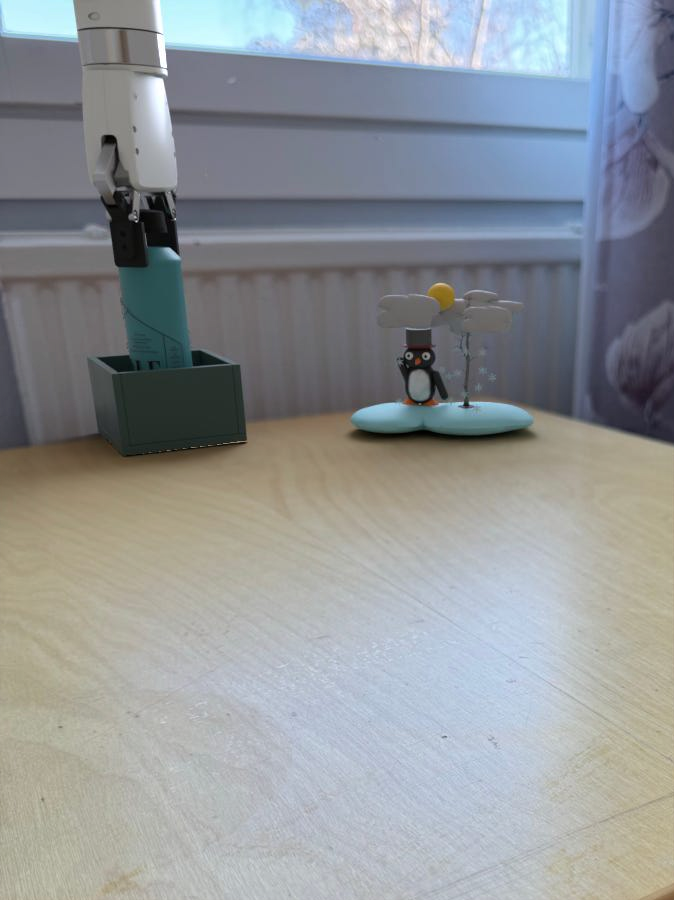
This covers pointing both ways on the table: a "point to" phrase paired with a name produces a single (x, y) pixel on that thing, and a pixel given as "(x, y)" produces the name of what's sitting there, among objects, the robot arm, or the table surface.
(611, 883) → the table surface
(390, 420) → the penguin figurine
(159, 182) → the robot arm
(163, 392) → the holder bin
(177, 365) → the beverage bottle
